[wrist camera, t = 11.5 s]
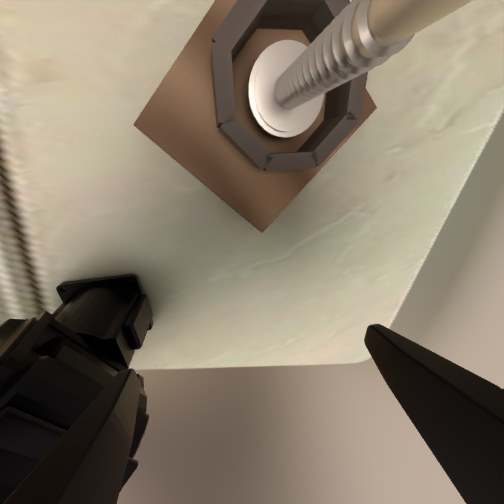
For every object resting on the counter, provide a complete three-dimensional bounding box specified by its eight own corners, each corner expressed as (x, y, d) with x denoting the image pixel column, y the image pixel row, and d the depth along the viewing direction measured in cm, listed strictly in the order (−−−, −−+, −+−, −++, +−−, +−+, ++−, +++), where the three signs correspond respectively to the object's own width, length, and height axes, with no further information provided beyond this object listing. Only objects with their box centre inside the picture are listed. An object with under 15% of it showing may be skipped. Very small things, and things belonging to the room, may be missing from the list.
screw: (259, 150, 16) (231, 74, 14) (317, 121, 16) (298, 40, 14) (393, 147, 4) (350, -321, 2) (608, 42, 4) (785, -555, 2)
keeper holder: (259, 228, 20) (270, 246, 16) (138, 126, 15) (115, 118, 11) (366, 110, 17) (410, 99, 14) (263, -61, 12) (286, -151, 9)
